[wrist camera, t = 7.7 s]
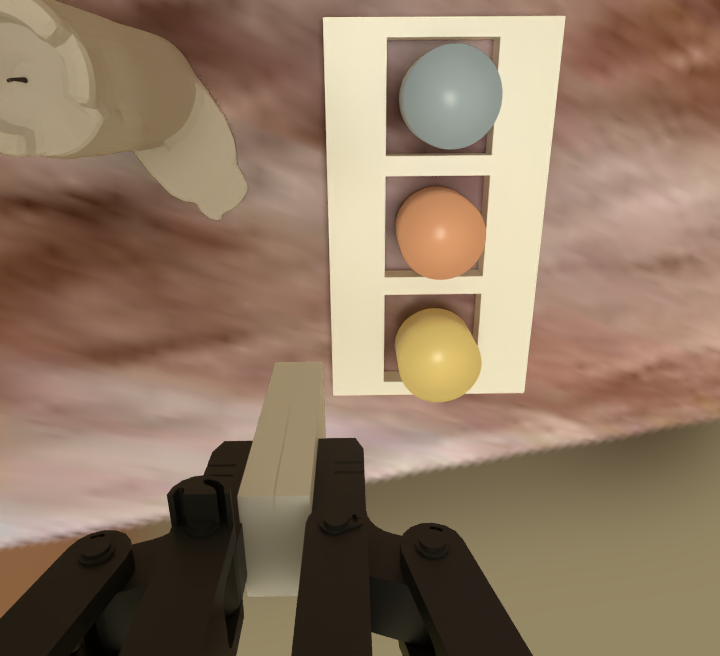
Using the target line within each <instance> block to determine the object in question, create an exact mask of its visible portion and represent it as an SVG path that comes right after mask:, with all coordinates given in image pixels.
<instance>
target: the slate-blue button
mask: <svg viewBox="0 0 720 656" xmlns="http://www.w3.org/2000/svg"><path fill="white" fill-rule="evenodd" d="M502 95H503V90H502V82H501V78H500V75H499V72H498V70H497V68H496V66H495V65H494V63H493V62H492V60H491V59H490V58H489V57H488V56H487V55H486V54H485V53H483V52H482V51H481V50H479V49H477V48H475V47H473V46H470V45H466V44H459V43H453V44H446V45H442V46H440V47H437V48H435V49H433V50H431V51H430V52H428V53H426V54H425V55H423V56H422V57H420V58H419V59H418V60H416V61H415V62H414V63H413V64H412V66H411V67H410V68H409V69H408V71H407V73H406V74H405V76H404V78H403V81H402V84H401V87H400V92H399V107H400V112H401V115H402V118H403V120H404V122H405V124H406V126H407V127H408V129H409V130H410V131H411V132H412V133H413V134H414V135H415V136H416V137H418V138H419V139H421V140H423V141H425V142H426V143H428V144H430V145H432V146H435V147H438V148H442V149H459V148H464V147H467V146H469V145H471V144H473V143H475V142H477V141H478V140H480V139H481V138H482V137H483V136H484V135H485V134H486V133H487V132H488V131H489V130H490V129H491V127H492V126H493V124H494V123H495V121H496V119H497V117H498V114H499V112H500V108H501V105H502Z"/></svg>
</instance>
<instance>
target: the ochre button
mask: <svg viewBox="0 0 720 656" xmlns="http://www.w3.org/2000/svg"><path fill="white" fill-rule="evenodd" d="M395 351H396V356H397V362H398V367H399V373H400V377H401V380H402V382H403V384H404V385H405V387H406V388H407V389H408V390H409V391H410V392H411V393H412V394H413V395H415V396H417V397H418V398H420V399H423V400H426V401H430V402H445V401H450V400H453V399H456V398H458V397H460V396H462V395H463V394H465V393H466V392H467V391H468V390H470V389H471V388H472V386H473V385H474V384H475V382H476V381H477V379H478V377H479V375H480V371H481V366H482V359H481V354H480V351H479V348H478V346H477V344H476V342H475V340H474V339H473V337H472V335H471V333H470V331H469V329H468V327H467V325H466V324H465V322H464V321H463V320H462V319H461V318H460V317H459V316H458V315H456V314H455V313H453V312H451V311H448V310H445V309H440V308H429V309H424V310H421V311H419V312H416V313H414V314H413V315H411V316H410V317H409V318H407V319H406V320H405V321H404V322H403V324H402V325H401V326H400V328H399V330H398V332H397V335H396V339H395Z"/></svg>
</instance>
